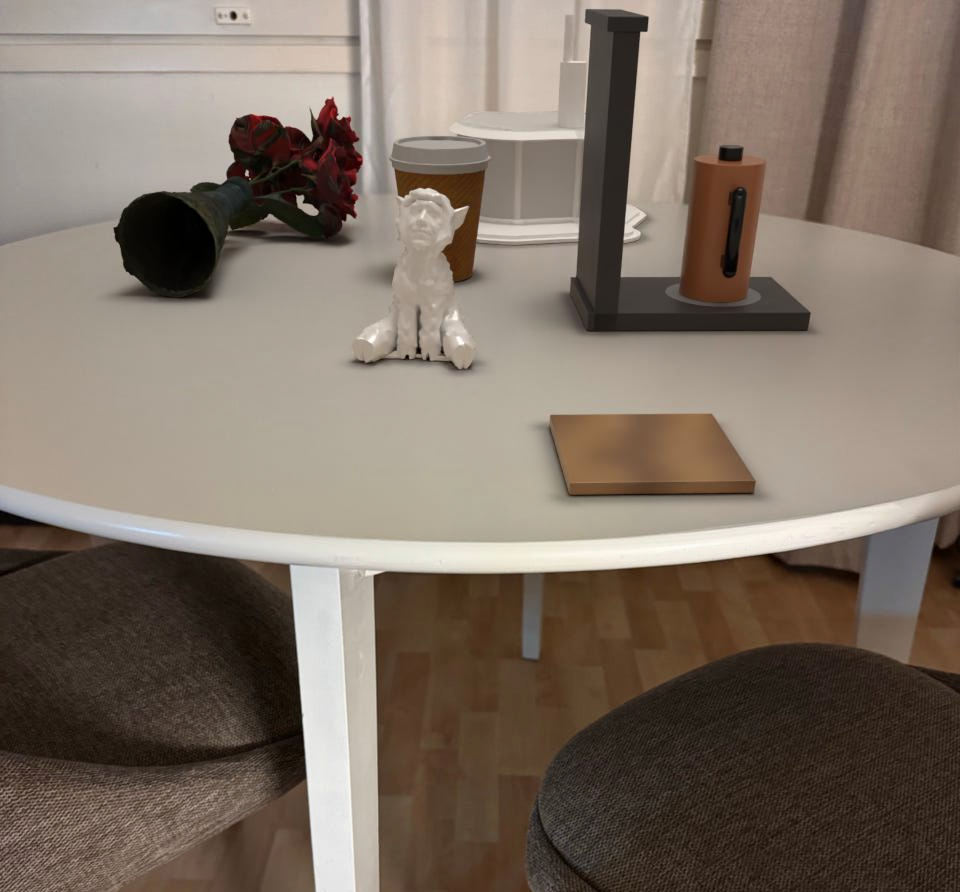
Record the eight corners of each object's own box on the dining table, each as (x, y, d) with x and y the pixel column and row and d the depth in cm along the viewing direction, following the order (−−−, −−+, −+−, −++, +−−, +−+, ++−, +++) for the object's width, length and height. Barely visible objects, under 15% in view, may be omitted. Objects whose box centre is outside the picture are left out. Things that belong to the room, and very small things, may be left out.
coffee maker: (768, 292, 101) (811, 11, 88) (808, 330, 90) (864, 18, 78) (569, 292, 100) (585, 8, 88) (587, 331, 90) (608, 15, 77)
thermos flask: (737, 284, 97) (757, 141, 91) (761, 308, 91) (784, 155, 84) (672, 284, 97) (688, 141, 90) (691, 308, 90) (709, 155, 84)
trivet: (710, 424, 72) (712, 413, 72) (754, 493, 63) (756, 480, 62) (549, 425, 71) (549, 414, 71) (569, 495, 62) (569, 482, 62)
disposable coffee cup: (503, 269, 107) (507, 139, 101) (463, 291, 100) (463, 152, 93) (420, 259, 110) (418, 132, 104) (374, 279, 103) (369, 144, 97)
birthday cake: (365, 215, 129) (356, 9, 117) (533, 188, 145) (539, 5, 133) (540, 261, 110) (550, 22, 98) (710, 224, 126) (735, 15, 115)
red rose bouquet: (201, 378, 101) (297, 268, 129) (334, 255, 93) (407, 165, 121) (70, 246, 95) (201, 160, 123) (200, 101, 87) (309, 45, 115)
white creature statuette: (350, 363, 82) (341, 197, 75) (375, 331, 89) (369, 176, 82) (472, 370, 81) (473, 202, 74) (487, 337, 88) (489, 181, 81)
